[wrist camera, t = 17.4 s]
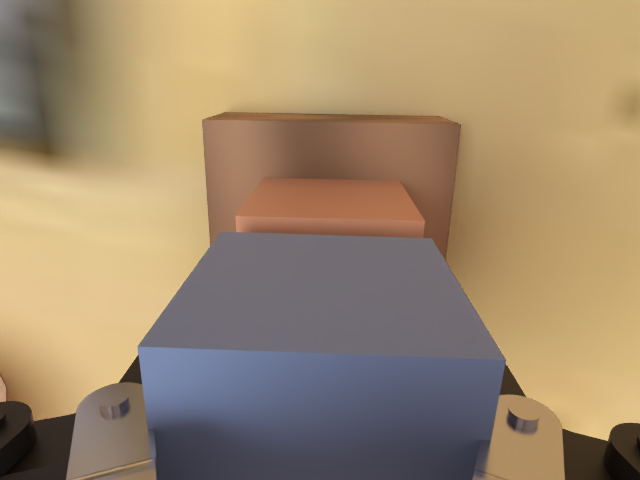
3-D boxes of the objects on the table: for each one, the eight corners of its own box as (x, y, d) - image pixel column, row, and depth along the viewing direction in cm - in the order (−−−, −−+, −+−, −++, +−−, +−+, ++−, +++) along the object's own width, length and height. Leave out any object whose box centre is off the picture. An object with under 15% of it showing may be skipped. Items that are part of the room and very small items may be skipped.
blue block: (431, 238, 12) (505, 359, 7) (412, 411, 14) (459, 611, 9) (221, 231, 12) (137, 347, 7) (229, 404, 14) (168, 597, 9)
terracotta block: (399, 180, 19) (424, 220, 13) (390, 303, 20) (409, 381, 15) (263, 177, 19) (235, 216, 14) (266, 300, 21) (242, 375, 15)
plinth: (438, 116, 22) (460, 124, 18) (420, 308, 25) (435, 350, 21) (224, 112, 22) (202, 119, 18) (234, 303, 25) (216, 343, 21)
